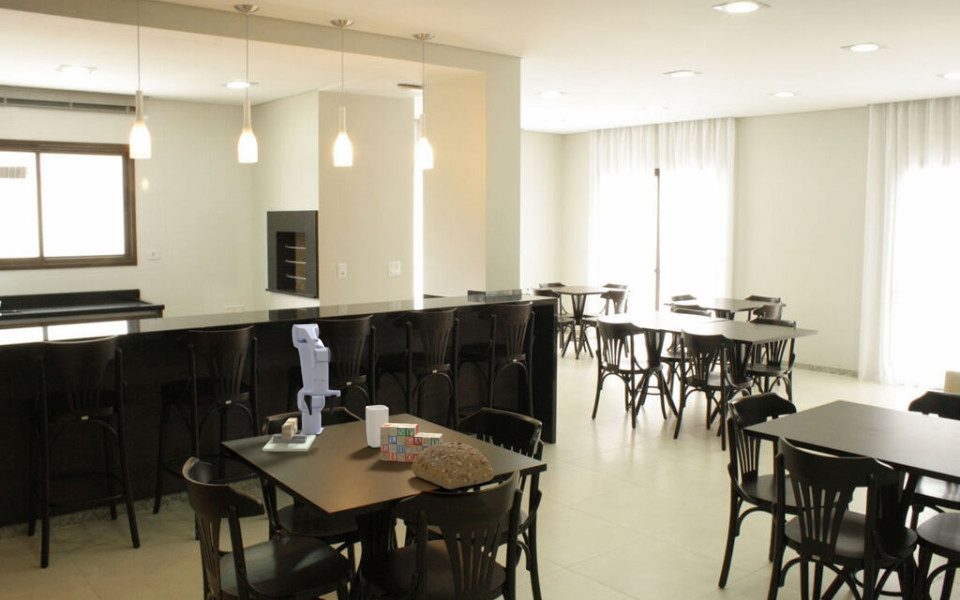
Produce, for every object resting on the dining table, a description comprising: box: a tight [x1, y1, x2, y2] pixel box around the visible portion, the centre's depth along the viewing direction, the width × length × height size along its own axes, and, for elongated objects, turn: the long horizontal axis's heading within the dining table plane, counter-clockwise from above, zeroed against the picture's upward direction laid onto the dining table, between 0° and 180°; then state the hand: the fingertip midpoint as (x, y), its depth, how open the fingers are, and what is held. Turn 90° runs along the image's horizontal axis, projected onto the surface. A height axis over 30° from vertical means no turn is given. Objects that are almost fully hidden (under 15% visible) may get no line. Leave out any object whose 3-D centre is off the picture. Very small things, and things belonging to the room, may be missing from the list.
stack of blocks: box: [380, 422, 444, 463], centre depth 286 cm, size 21×6×12 cm, turn 80°
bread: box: [410, 440, 495, 490], centre depth 264 cm, size 24×21×12 cm
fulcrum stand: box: [262, 433, 317, 452], centre depth 305 cm, size 20×16×4 cm
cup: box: [365, 404, 389, 449], centre depth 303 cm, size 7×7×15 cm
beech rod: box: [281, 417, 298, 440], centre depth 305 cm, size 14×3×5 cm, turn 2°
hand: (320, 414), depth 309 cm, fingers open, 7 cm apart
